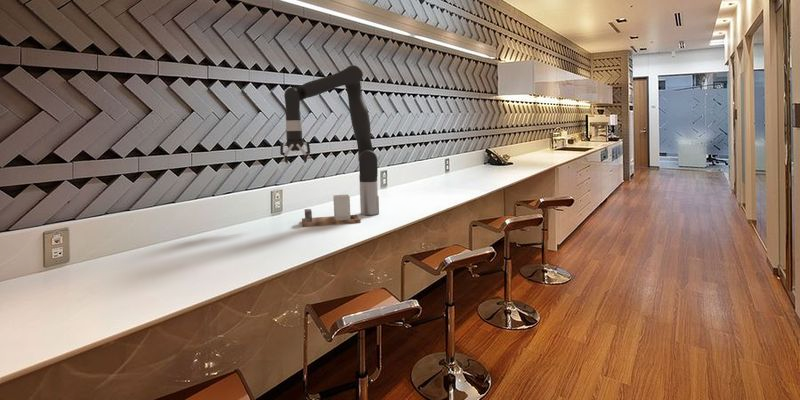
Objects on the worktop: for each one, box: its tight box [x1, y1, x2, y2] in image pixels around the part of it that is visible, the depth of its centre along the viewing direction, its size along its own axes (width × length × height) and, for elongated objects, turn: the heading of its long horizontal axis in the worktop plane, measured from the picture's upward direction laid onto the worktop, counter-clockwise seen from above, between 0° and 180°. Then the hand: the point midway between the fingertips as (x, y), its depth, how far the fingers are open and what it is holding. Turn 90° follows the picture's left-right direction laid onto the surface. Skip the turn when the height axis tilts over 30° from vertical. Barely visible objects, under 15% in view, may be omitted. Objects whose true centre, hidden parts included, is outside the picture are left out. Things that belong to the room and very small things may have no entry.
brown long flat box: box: [301, 208, 362, 228], centre depth 212 cm, size 27×12×6 cm, turn 104°
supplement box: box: [332, 194, 352, 221], centre depth 214 cm, size 7×7×13 cm
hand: (296, 163), depth 218 cm, fingers open, 8 cm apart
